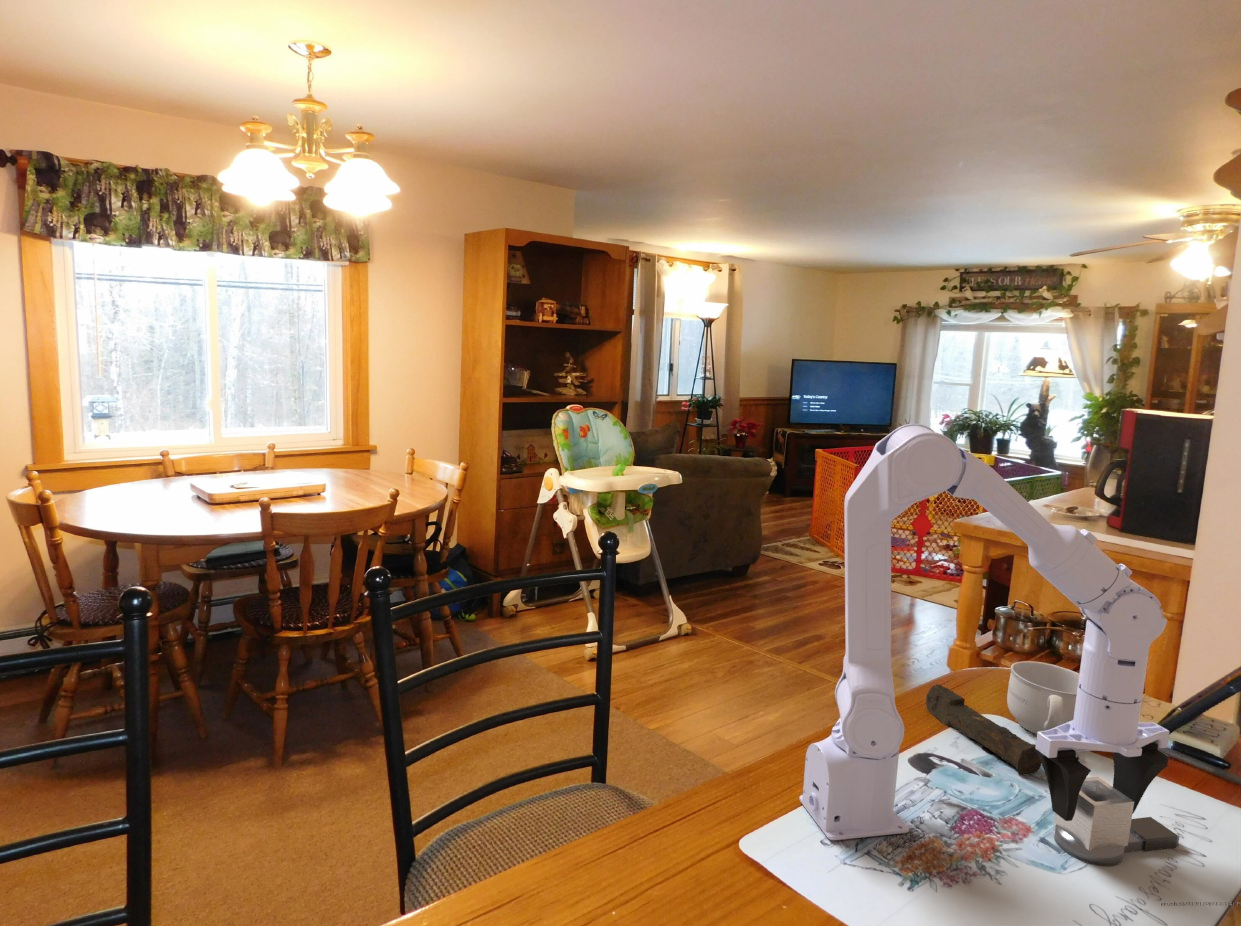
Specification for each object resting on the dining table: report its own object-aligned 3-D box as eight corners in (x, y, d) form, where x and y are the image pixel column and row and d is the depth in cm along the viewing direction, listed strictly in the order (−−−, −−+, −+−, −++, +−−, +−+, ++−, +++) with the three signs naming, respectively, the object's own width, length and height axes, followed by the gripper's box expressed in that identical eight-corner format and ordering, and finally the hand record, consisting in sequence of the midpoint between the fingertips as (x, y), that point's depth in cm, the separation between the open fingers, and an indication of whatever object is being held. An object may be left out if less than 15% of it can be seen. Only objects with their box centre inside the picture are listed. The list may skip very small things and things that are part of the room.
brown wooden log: (1044, 775, 99) (1048, 740, 99) (1018, 779, 98) (1022, 744, 98) (941, 707, 117) (944, 678, 117) (919, 710, 116) (922, 680, 115)
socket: (1088, 850, 82) (1094, 805, 81) (1054, 822, 86) (1059, 780, 86) (1127, 845, 83) (1134, 801, 82) (1091, 818, 87) (1097, 776, 87)
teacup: (1012, 704, 119) (1018, 653, 117) (1095, 726, 112) (1102, 673, 111) (992, 740, 107) (999, 684, 106) (1084, 767, 101) (1092, 708, 100)
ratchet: (1085, 870, 81) (1091, 828, 80) (1040, 831, 87) (1045, 793, 87) (1192, 856, 84) (1198, 816, 83) (1141, 820, 90) (1146, 783, 89)
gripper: (1079, 713, 77) (1062, 842, 79) (1202, 704, 80) (1182, 828, 82) (1027, 682, 84) (1013, 801, 86) (1143, 675, 87) (1126, 790, 89)
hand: (1092, 812), depth 84 cm, fingers open, 7 cm apart
